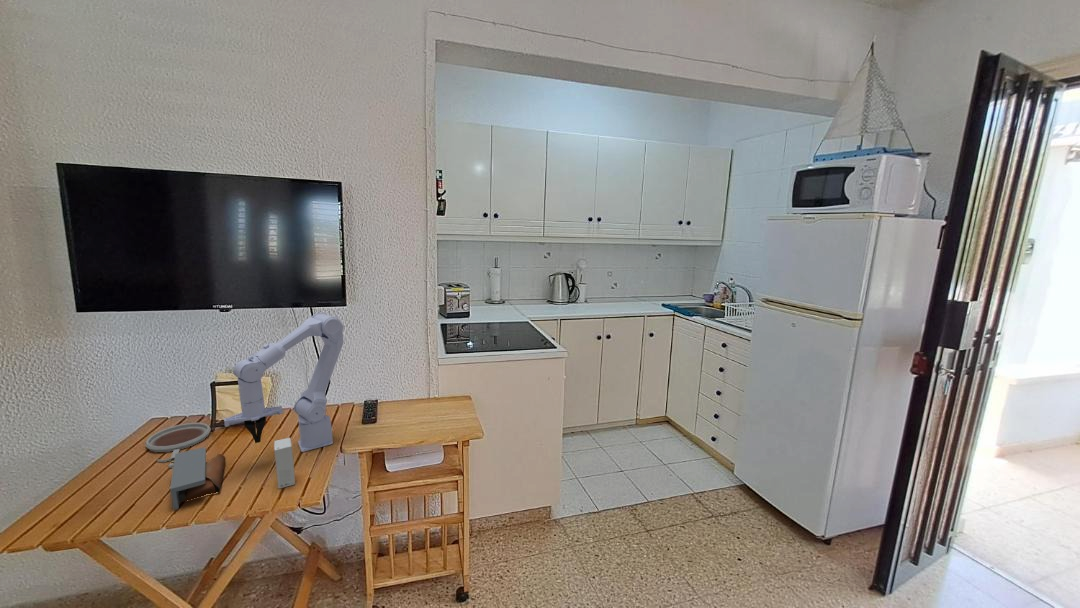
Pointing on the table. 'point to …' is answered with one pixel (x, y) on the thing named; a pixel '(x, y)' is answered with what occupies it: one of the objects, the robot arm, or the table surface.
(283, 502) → the table surface
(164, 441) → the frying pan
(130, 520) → the table surface
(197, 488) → the sunglasses case
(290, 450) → the skincare box
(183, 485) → the low shelf
